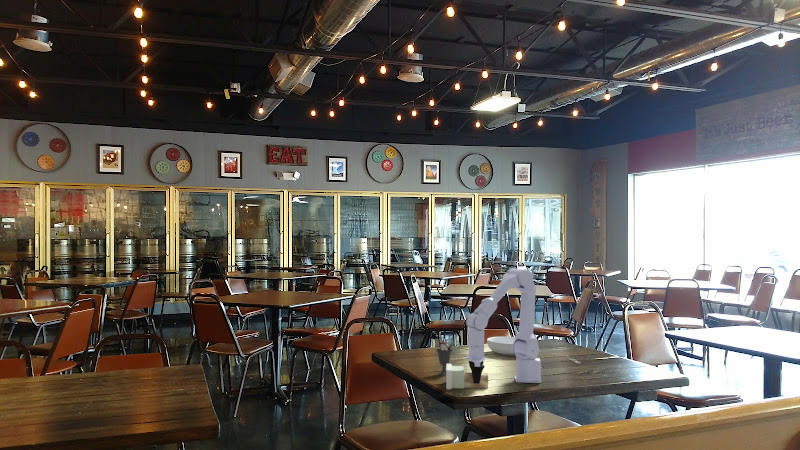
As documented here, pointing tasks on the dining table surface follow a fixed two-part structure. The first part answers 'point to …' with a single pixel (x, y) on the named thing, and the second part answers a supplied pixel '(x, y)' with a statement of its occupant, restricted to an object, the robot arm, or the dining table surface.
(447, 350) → the sundae
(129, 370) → the dining table surface
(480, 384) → the peg
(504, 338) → the serving bowl
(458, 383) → the block
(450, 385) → the wall
